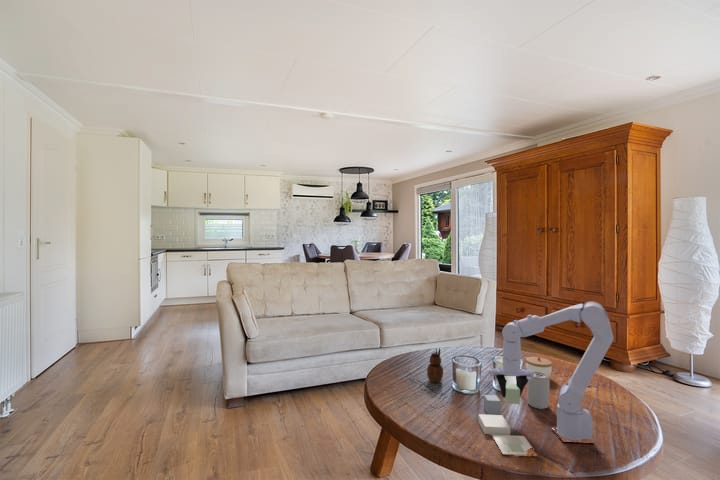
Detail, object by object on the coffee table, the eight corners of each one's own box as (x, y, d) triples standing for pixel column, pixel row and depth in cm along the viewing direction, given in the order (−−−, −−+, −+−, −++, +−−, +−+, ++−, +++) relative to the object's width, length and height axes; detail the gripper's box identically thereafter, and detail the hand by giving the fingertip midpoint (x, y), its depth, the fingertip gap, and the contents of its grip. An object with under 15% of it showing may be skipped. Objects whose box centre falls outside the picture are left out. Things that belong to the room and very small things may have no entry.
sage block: (515, 398, 127) (515, 384, 127) (519, 404, 123) (520, 389, 122) (502, 397, 127) (502, 383, 127) (506, 403, 123) (506, 388, 123)
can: (551, 405, 137) (552, 374, 136) (545, 412, 131) (546, 379, 131) (530, 399, 142) (531, 368, 142) (524, 405, 136) (524, 374, 136)
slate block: (496, 408, 134) (496, 395, 134) (500, 414, 129) (500, 400, 129) (483, 408, 134) (484, 394, 134) (487, 414, 130) (487, 400, 130)
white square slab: (501, 423, 124) (502, 415, 124) (510, 436, 116) (510, 427, 116) (478, 422, 124) (478, 414, 124) (484, 435, 116) (484, 426, 116)
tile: (524, 437, 114) (524, 435, 114) (537, 457, 104) (537, 454, 104) (492, 436, 115) (492, 433, 115) (502, 455, 105) (502, 452, 105)
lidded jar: (524, 378, 162) (524, 358, 162) (527, 371, 171) (527, 351, 171) (550, 384, 156) (551, 362, 156) (552, 376, 165) (553, 355, 165)
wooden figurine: (444, 381, 158) (445, 347, 158) (440, 385, 153) (440, 350, 153) (430, 377, 162) (430, 344, 162) (425, 381, 157) (425, 347, 157)
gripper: (528, 354, 128) (527, 392, 128) (487, 353, 129) (486, 390, 129) (536, 361, 121) (536, 401, 121) (492, 360, 122) (492, 399, 122)
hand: (510, 396), depth 125 cm, fingers closed on sage block, 4 cm apart
